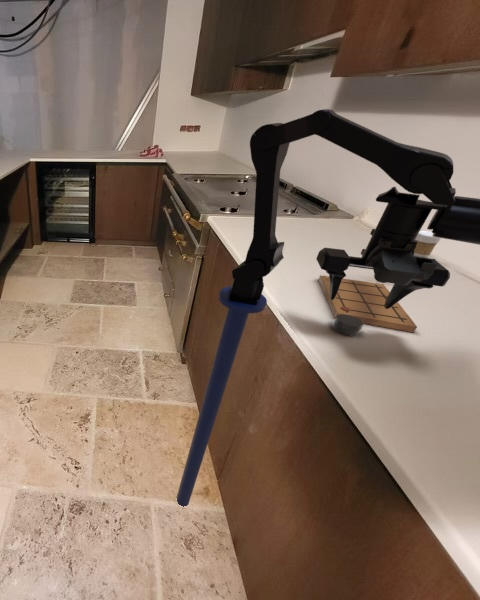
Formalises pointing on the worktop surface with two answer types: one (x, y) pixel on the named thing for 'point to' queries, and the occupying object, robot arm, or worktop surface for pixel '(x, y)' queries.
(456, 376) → the worktop surface
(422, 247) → the sprinkles bottle
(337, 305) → the board
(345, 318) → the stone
